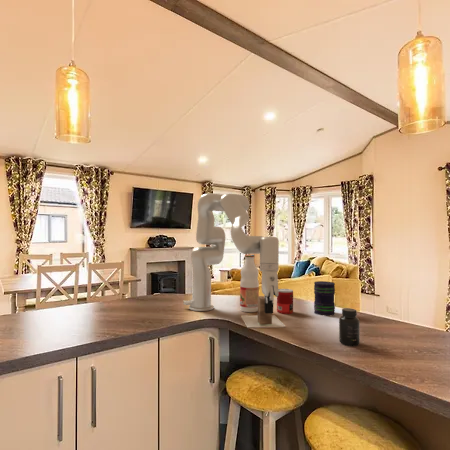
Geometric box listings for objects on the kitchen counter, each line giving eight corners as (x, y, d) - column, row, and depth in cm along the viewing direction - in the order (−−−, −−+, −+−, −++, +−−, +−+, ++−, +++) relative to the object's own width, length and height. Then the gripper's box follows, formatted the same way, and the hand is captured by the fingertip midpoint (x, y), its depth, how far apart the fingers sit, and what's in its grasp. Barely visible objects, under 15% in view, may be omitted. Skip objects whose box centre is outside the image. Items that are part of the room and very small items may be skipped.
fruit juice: (254, 313, 155) (255, 255, 156) (236, 311, 160) (237, 255, 160) (261, 309, 164) (261, 254, 165) (244, 307, 168) (244, 254, 169)
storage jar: (327, 316, 150) (327, 284, 151) (309, 312, 158) (310, 282, 158) (338, 313, 157) (338, 283, 157) (321, 309, 164) (321, 280, 165)
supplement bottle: (335, 340, 117) (335, 307, 117) (353, 340, 117) (353, 307, 118) (344, 347, 110) (344, 311, 110) (363, 346, 111) (363, 311, 111)
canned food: (293, 314, 154) (293, 291, 154) (276, 313, 156) (276, 290, 156) (293, 310, 161) (293, 289, 162) (277, 310, 163) (277, 288, 163)
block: (260, 325, 133) (260, 299, 134) (257, 322, 138) (257, 296, 139) (271, 325, 134) (271, 298, 134) (268, 322, 139) (269, 296, 139)
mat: (247, 327, 131) (247, 326, 131) (241, 316, 149) (241, 315, 149) (285, 327, 133) (285, 326, 133) (274, 316, 151) (274, 315, 151)
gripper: (283, 269, 122) (283, 317, 122) (273, 265, 137) (273, 308, 137) (264, 269, 122) (263, 318, 121) (256, 265, 136) (256, 308, 136)
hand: (268, 312), depth 129 cm, fingers closed
